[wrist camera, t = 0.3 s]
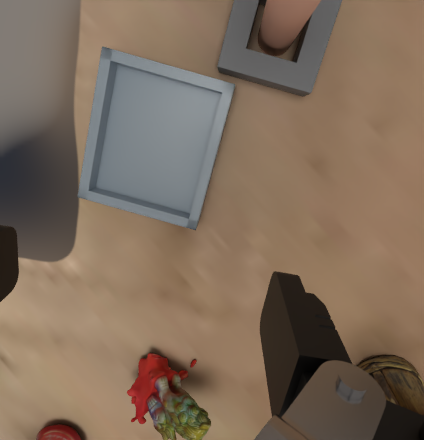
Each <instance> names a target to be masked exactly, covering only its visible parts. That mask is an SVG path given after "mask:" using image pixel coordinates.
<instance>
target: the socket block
mask: <svg viewBox="0 0 424 440" xmlns="http://www.w3.org/2000/svg"><path fill="white" fill-rule="evenodd" d="M266 1H267V0H234V3H233V7H232V11H231V15H230V19H229V23H228V26H227V30H226V34H225V38H224V42H223V46H222V50H221V54H220V58H219V62H218V66H217V67H218V70H219V73H223V74H226V75H230V76H233V77H237V78H240V79H244V80H247V81H251V82H254V83H258V84H261V85H265V86H269V87H272V88H276V89H279V90H283V91H286V92H290V93H293V94H297V95H300V96H306V95H308V94H310V93H311V92H312V89H313V86H314V83H315V80H316V77H317V74H318V71H319V68H320V65H321V62H322V59H323V56H324V53H325V50H326V47H327V44H328V41H329V38H330V35H331V32H332V29H333V26H334V23H335V20H336V17H337V14H338V11H339V8H340V5H341V2H342V0H321V1H320V3H319V4H318V6H317V7H316V9H315V10H314V12H313V13H312V15H311V16H310V18H309V19H308V21H307V22H306V23H305V25H304V28H303V31H302V35H301V38H300V41H299V44H298V47H297V51H296V54H295V57H294V60H293V62H292V61H288V60H285V59H281V58H278V57H274V56H271V55H267V54H264V53H260V52H257V51H253V50H250V49H247V46H248V43H249V39H250V35H251V32H252V28H253V24H254V21H255V17H256V13H257V10H258V6H259V4H262V5H266Z"/></svg>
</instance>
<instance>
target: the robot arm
mask: <svg viewBox="0 0 424 440" xmlns="http://www.w3.org/2000/svg"><path fill="white" fill-rule="evenodd" d="M18 274H19V268H18V247H17V233H16V230H15V229H14V228H13V227H9V226H3V225H0V302H1V301H2V300H3V299H4V298H5V297H6V296H7V295H8V294H9V293H10V292H11V291H12V290H13V289H14V287H15V285H16V283H17V280H18ZM330 318H331V317H330V315H329V313H328V310H327V308H326V306H325V305H324V304H323V303H322V302H321V301H320V300H319V299H318V298H317V297H316V296H315V295H314V294H311V293H306V292H305V290H304V287H303V285H302V282H301V280H300V277H299V276H298V275H293V274H287V273H281V272H274V273H273V274H272V277H271V280H270V284H269V287H268V291H267V295H266V299H265V302H264V306H263V310H262V314H261V320H260V336H261V343H262V350H263V357H264V364H265V371H266V378H267V385H268V392H269V399H270V406H271V413H272V418H271V419H270V420H269V421H268V422H267V424H266V425H265V426H264V428H263V429H262V430H261V431H260V433H259V434H258V435H257V436H256V438H255V439H254V440H424V416H423V415H421V414H418V413H416V412H414V411H411V410H409V409H406V408H404V407H401V406H399V405H397V404H394V403H392V402H390V401H388V400H386V397H385V394H384V392H383V390H382V388H381V387H380V385H379V384H378V383H377V382H376V380H375V379H374V378H373V377H372V376H370V375H369V374H368V373H367V372H365V371H364V370H362V369H361V368H359V367H357V366H355V365H353V364H352V362H351V360H350V358H349V356H348V354H347V352H346V349H345V347H344V345H343V343H342V341H341V339H340V336H339V334H338V332H337V330H335V326H334V323H333V321H332V320H331V319H330Z"/></svg>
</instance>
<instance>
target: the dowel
mask: <svg viewBox="0 0 424 440" xmlns="http://www.w3.org/2000/svg"><path fill="white" fill-rule="evenodd" d="M320 1H321V0H267V1H266V5H265V9H264V13H263V17H262V21H261V25H260V29H259V33H258V43H259V46H260V48H261V50H262V51H263V52H264V53H266V54H267V55H271V56H279V55H281V54H283V53H284V52H286V51H287V50H288V48H289V47H290V46H291V44H292V43H293V41H294V40H295V38H296V37H297V35H298V34H299V32H300V31H301V29H302V28H303V26H304V25H305V23H306V22H307V21H308V19H309V18H310V16H311V15H312V13H313V12H314V10H315V9H316V7H317V6H318V4H319V3H320Z"/></svg>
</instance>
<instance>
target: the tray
mask: <svg viewBox="0 0 424 440" xmlns="http://www.w3.org/2000/svg"><path fill="white" fill-rule="evenodd" d="M234 90H235V84H232V83H229V82H225V81H222V80H218V79H215V78H211V77H208V76H204V75H201V74H197V73H194V72H190V71H187V70H183V69H180V68H176V67H173V66H169V65H166V64H162V63H159V62H155V61H152V60H148V59H145V58H141V57H138V56H134V55H131V54H127V53H124V52H120V51H117V50H113V49H110V48H106V47H103V46H102V51H101V57H100V63H99V69H98V75H97V81H96V87H95V93H94V100H93V106H92V112H91V118H90V124H89V130H88V136H87V142H86V148H85V155H84V161H83V167H82V173H81V179H80V185H79V191H78V197H79V198H83V199H86V200H90V201H93V202H97V203H101V204H104V205H108V206H111V207H115V208H118V209H122V210H126V211H129V212H133V213H136V214H140V215H143V216H147V217H151V218H154V219H158V220H161V221H165V222H168V223H172V224H176V225H179V226H183V227H186V228H190V229H193V230H196V228H197V225H198V222H199V219H200V215H201V211H202V208H203V204H204V200H205V197H206V193H207V189H208V186H209V182H210V178H211V175H212V171H213V167H214V164H215V160H216V156H217V153H218V149H219V145H220V142H221V138H222V134H223V131H224V127H225V123H226V120H227V116H228V112H229V109H230V105H231V101H232V98H233V94H234Z"/></svg>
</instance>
